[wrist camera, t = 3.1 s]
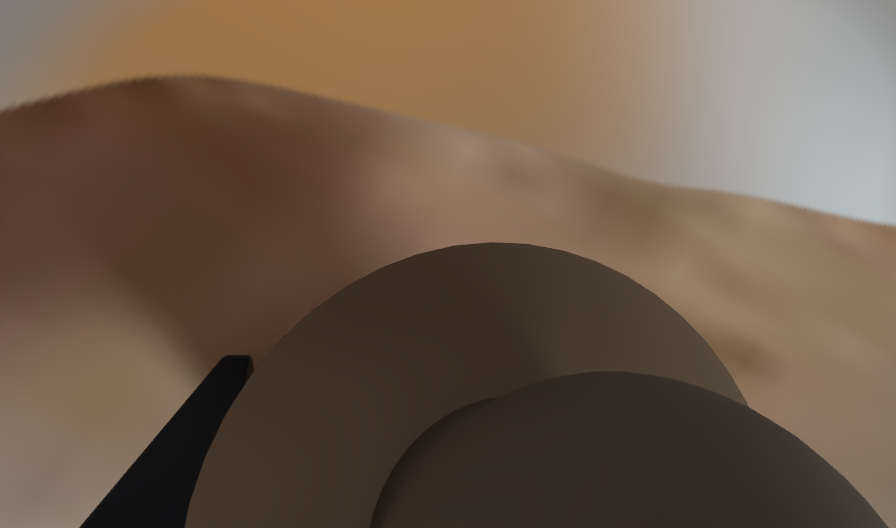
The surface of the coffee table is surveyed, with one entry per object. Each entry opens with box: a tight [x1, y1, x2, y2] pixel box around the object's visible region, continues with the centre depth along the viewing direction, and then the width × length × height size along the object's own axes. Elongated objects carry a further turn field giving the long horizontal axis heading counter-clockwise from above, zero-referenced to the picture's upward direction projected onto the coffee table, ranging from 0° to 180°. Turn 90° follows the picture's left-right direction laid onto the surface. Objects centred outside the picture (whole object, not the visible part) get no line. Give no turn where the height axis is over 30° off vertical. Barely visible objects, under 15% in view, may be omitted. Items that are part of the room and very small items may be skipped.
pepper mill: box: [185, 242, 888, 528], centre depth 9 cm, size 5×5×15 cm
